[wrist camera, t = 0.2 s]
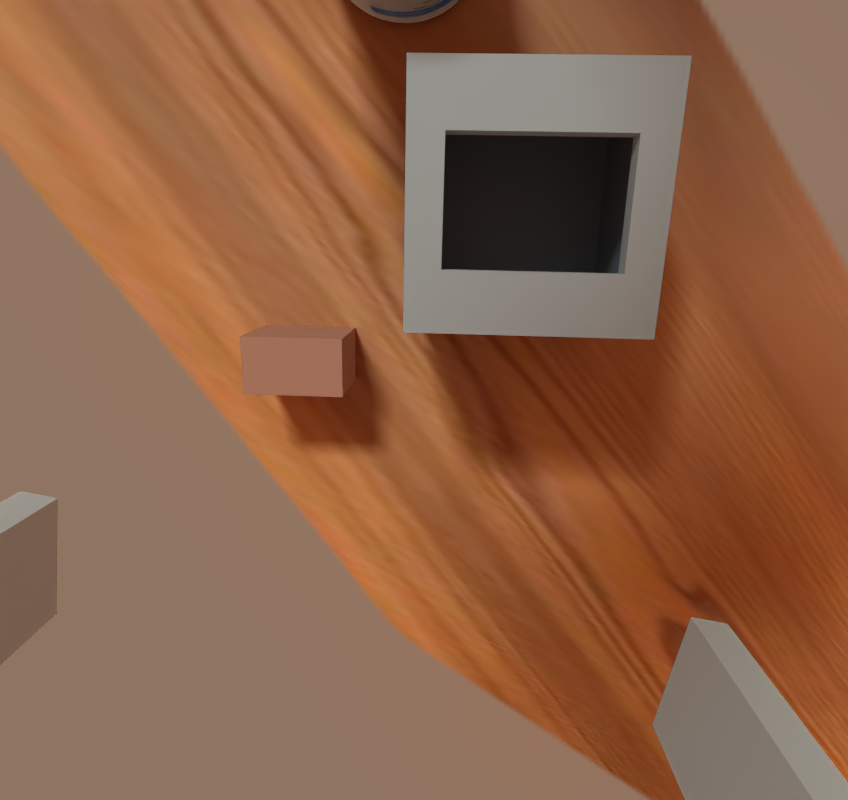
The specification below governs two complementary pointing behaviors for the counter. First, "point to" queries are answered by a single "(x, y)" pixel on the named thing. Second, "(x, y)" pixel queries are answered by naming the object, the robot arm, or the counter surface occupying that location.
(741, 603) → the counter surface
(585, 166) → the box
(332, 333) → the block
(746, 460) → the counter surface
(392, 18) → the supplement tub
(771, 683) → the robot arm
